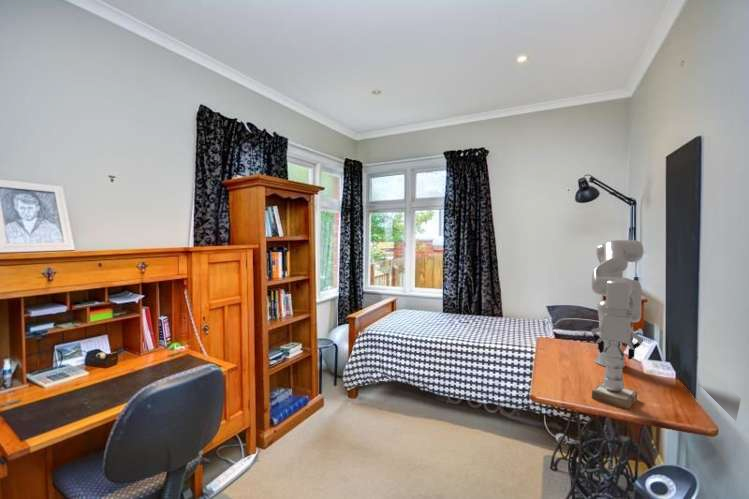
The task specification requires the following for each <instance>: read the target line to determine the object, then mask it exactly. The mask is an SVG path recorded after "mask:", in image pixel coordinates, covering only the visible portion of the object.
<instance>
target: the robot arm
mask: <svg viewBox="0 0 749 499" xmlns="http://www.w3.org/2000/svg"><path fill="white" fill-rule="evenodd" d="M596 256H597V260H598V262H599V264H598V265H597V266H596V267H594V269H593V271H592V275H591V290H592V291H593V293H594V294H597V295H601V296H602V295H603V296H604V297H605V299H604V300H602V301H600V302H598V305H597V315H598V323H599V324H598V327H596V328H592V329H591V330H590V332H591V334H592V335H593V338H594V339H595V340H596V341H597V343H598V345H597V350H598V353H597V354H598V357H595V358H594V362H595V363H596V364H598V365H600V366H603V367H606V361H605V354H604V351H605V349H606V348H607V347H608V346H609V345H610V344H609V340H612V341H617V342H621V346H620V347H621V349H622V348H623V344H626V345H627V346H628V347H629V348H628V350H627V351H628V354H627V359H628V360H632V359H633V358H635V352H636V350H635V349H637V348H639V347H640V346H641V345H642V344H643V342H644V341H645V339H644V338H642V337H641V336H640V335H638V334H636V333H634V323H638V322H640V321H641V318H642V297H643V295H642V294H643V293H642V285H641V283H640V281H638V280H635V279H630V278H627V277H624V276H623V274H624V272H625V271H626V269H628V265H629V264H628V263H638V262H639V261H641V259H642V258H643V257H644V246H643V243H642V242H641V241H639V240H632V239H624V240H623V239H621V240H620V239H614V240H609V241H607V242H606V243H603V244H602V243H601V244H599V245H598V246H597V247H596ZM597 332H598V333H597ZM634 339H635V340H637V342H635V343H634V342H633V341H634ZM622 350H623V349H622ZM625 366H626V363H625V362H623V368H625Z"/></svg>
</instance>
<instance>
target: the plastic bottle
mask: <svg viewBox="0 0 749 499" xmlns="http://www.w3.org/2000/svg"><path fill="white" fill-rule="evenodd" d="M609 344H610V345H609V346H608V347H607V348H606V349H605V351H604V354H605V361H606V366H605V373H604V377H603V383H604V386H605V388H606V389H608V390H611V391H615V392H621V391H622V390H623V389H624V388H625V381H624V378H623V377H624V376H623V373H624V372H623V368H624V367H623V362H624V361H625V352H624V350H623V349H621V347H620V346H621V342H617V341H612V340H609ZM624 363H625V362H624Z"/></svg>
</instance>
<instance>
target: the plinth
mask: <svg viewBox="0 0 749 499" xmlns="http://www.w3.org/2000/svg"><path fill="white" fill-rule="evenodd" d="M591 399H592V400H593V399H594V400H597V401H600V402H603V403H605V404H610V405H612V406H616V407H619V408H622V409H625V410H629V409H631V407H632V406H633V404H635V402H636V401H638V391H635V390H632V389H628V388H625V387H624V389H623V390H622V391H621V392H615V391H611V390H608V389H606V388H605V386H604V381H602V382H600V383H599V384H598V385H597V386H596V387H594V388H593V389H592V390H591Z"/></svg>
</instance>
